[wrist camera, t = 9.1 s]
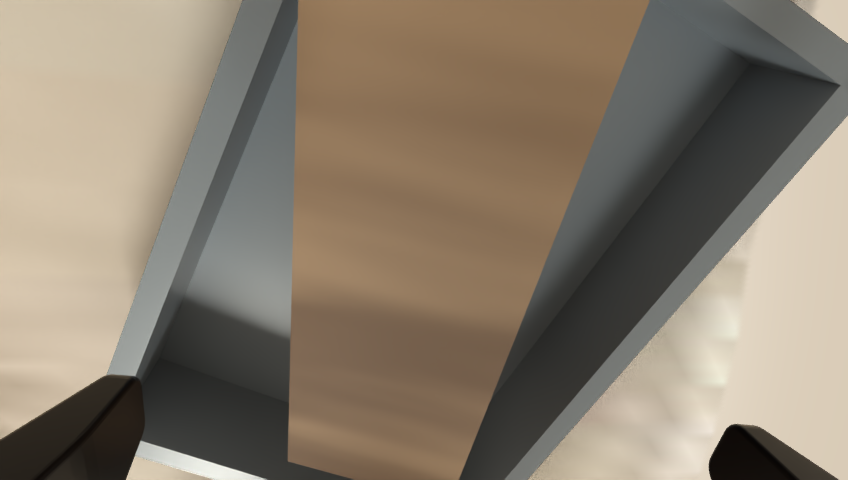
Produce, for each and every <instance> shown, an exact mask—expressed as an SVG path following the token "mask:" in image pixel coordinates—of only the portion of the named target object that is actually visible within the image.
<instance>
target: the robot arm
mask: <svg viewBox="0 0 848 480" xmlns="http://www.w3.org/2000/svg"><path fill="white" fill-rule="evenodd" d="M144 428H145V411H144V402H143V393H142V385H141V381H140V379H139V378H138V377H136V376H129V375H116V374H110V375H106V376H103V377H102V378H100V379H98V380H97V381H95V382H93V383H92V384H90V385H88V386H87V387H85V388H84V389H82V390H80V391H79V392H77V393H75V394H74V395H72V396H71V397H69V398H67V399H66V400H64V401H62V402H61V403H59V404H58V405H56V406H54V407H53V408H51V409H49V410H48V411H46V412H44V413H43V414H41V415H40V416H38V417H36V418H35V419H33V420H31V421H30V422H28V423H27V424H25V425H23V426H22V427H20V428H18V429H17V430H15V431H14V432H12V433H10V434H9V435H7V436H5V437H4V438H2V439H0V480H126V478H127V475H128V472H129V470H130V467H131V465H132V462H133V459H134V457H135V454H136V452H137V449H138V446H139V444H140V441H141V439H142V436H143V432H144ZM709 473H710V477H711V479H712V480H838V479H837V478H835V477H834V476H832V475H831V474H829V473H828V472H826V471H825V470H823V469H822V468H820V467H819V466H817V465H816V464H814V463H813V462H811V461H810V460H809V459H807V458H805V457H804V456H803V455H801V454H799V453H798V452H796V451H795V450H793V449H792V448H791V447H789V446H788V445H786V444H784V443H783V442H782V441H780V440H778V439H777V438H776V437H774V436H772V435H771V434H770V433H768V432H766V431H765V430H764V429H762V428H760V427H758V426H754V425H741V424H733V425H730V426H729V427H728V428H727V429H726V430H725V432H724V434H723V435H722V437H721V439H720V441H719V443H718V445H717V447H716V448H715V450H714V452H713V454H712V456H711V458H710V460H709Z"/></svg>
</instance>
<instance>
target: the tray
mask: <svg viewBox="0 0 848 480" xmlns="http://www.w3.org/2000/svg"><path fill="white" fill-rule="evenodd" d="M297 35H298V0H243V1H242V3H241V6H240V9H239V12H238V14H237V17H236V20H235V23H234V25H233V28H232V31H231V34H230V36H229V39H228V42H227V45H226V47H225V50H224V53H223V56H222V58H221V61H220V64H219V67H218V70H217V72H216V75H215V78H214V81H213V83H212V86H211V89H210V92H209V94H208V97H207V100H206V103H205V105H204V108H203V111H202V114H201V116H200V119H199V122H198V125H197V127H196V130H195V133H194V136H193V138H192V141H191V144H190V147H189V149H188V152H187V155H186V158H185V160H184V163H183V166H182V169H181V171H180V174H179V177H178V180H177V182H176V185H175V188H174V191H173V193H172V196H171V199H170V202H169V204H168V207H167V210H166V213H165V215H164V218H163V221H162V224H161V226H160V229H159V232H158V235H157V237H156V240H155V243H154V246H153V248H152V251H151V254H150V257H149V259H148V262H147V265H146V268H145V270H144V273H143V276H142V279H141V281H140V284H139V287H138V290H137V292H136V295H135V298H134V301H133V303H132V306H131V309H130V312H129V314H128V317H127V320H126V323H125V326H124V328H123V331H122V334H121V337H120V339H119V342H118V345H117V348H116V350H115V353H114V356H113V359H112V361H111V364H110V367H109V370H108V372H107V375H110V374H116V375H129V376H136V377H138V378H139V379H140V381H141V385H142V393H143V402H144V411H145V428H144V432H143V436H142V439H141V441H140V444H139V446H138V449H137V452H136V454H135V456H136V457H140V458H143V459H146V460H150V461H153V462H156V463H160V464H163V465H166V466H170V467H173V468H176V469H180V470H183V471H187V472H190V473H193V474H197V475H200V476H203V477H207V478H210V479H213V480H354V479H350V478H347V477H343V476H339V475H336V474H332V473H328V472H325V471H321V470H317V469H314V468H310V467H306V466H303V465H299V464H295V463H292V462H288V427H289V383H290V340H291V296H292V252H293V209H294V165H295V122H296V78H297ZM847 116H848V43H846V42H845V41H844V40H842V39H841V38H839V37H838V36H837V35H836V34H834V33H833V32H832V31H830V30H829V29H828V28H826V27H825V26H824V25H822V24H821V23H820V22H818V21H817V20H816V19H814V18H813V17H812V16H810V15H809V14H808V13H806V12H805V11H804V10H802V9H801V8H800V7H798V6H797V5H796V4H794V3H793V2H792V1H790V0H650V1H649V4H648V6H647V9H646V11H645V14H644V16H643V19H642V21H641V24H640V26H639V29H638V31H637V34H636V36H635V39H634V41H633V44H632V46H631V49H630V51H629V54H628V56H627V59H626V61H625V64H624V66H623V69H622V71H621V74H620V76H619V79H618V81H617V84H616V86H615V89H614V91H613V94H612V96H611V99H610V101H609V104H608V106H607V109H606V112H605V114H604V117H603V119H602V122H601V124H600V127H599V129H598V132H597V134H596V137H595V139H594V142H593V144H592V147H591V149H590V152H589V154H588V157H587V159H586V162H585V164H584V167H583V169H582V172H581V174H580V177H579V179H578V182H577V184H576V187H575V189H574V192H573V194H572V197H571V199H570V202H569V204H568V207H567V209H566V212H565V214H564V217H563V219H562V222H561V224H560V227H559V230H558V232H557V235H556V237H555V240H554V242H553V245H552V247H551V250H550V252H549V255H548V257H547V260H546V262H545V265H544V267H543V270H542V272H541V275H540V277H539V280H538V282H537V285H536V287H535V290H534V292H533V295H532V297H531V300H530V302H529V305H528V307H527V310H526V312H525V315H524V317H523V320H522V322H521V325H520V327H519V330H518V332H517V335H516V337H515V340H514V342H513V345H512V348H511V350H510V353H509V355H508V358H507V360H506V363H505V365H504V368H503V370H502V373H501V375H500V378H499V380H498V383H497V385H496V388H495V390H494V393H493V395H492V398H491V400H490V403H489V405H488V408H487V410H486V413H485V415H484V418H483V420H482V423H481V425H480V428H479V430H478V433H477V435H476V438H475V440H474V443H473V445H472V448H471V450H470V453H469V455H468V458H467V460H466V463H465V466H464V468H463V471H462V473H461V476H460V478H459V480H528V479H529V477H530V476H531V475H532V474H533V473H534V472H535V471H536V469H537V468H538V467H539V466H540V465H541V464H542V463H543V461H544V460H545V459H546V458H547V457H548V456H549V455H550V453H551V452H552V451H553V450H554V449H555V448H556V447H557V446H558V444H559V443H560V442H561V441H562V440H563V439H564V438H565V436H566V435H567V434H568V433H569V432H570V431H571V430H572V428H573V427H574V426H575V425H576V424H577V423H578V422H579V421H580V419H581V418H582V417H583V416H584V415H585V414H586V413H587V411H588V410H589V409H590V408H591V407H592V406H593V405H594V403H595V402H596V401H597V400H598V399H599V398H600V397H601V395H602V394H603V393H604V392H605V391H606V390H607V389H608V388H609V386H610V385H611V384H612V383H613V382H614V381H615V380H616V378H617V377H618V376H619V375H620V374H621V373H622V372H623V370H624V369H625V368H626V367H627V366H628V365H629V364H630V362H631V361H632V360H633V359H634V358H635V357H636V356H637V355H638V353H639V352H640V351H641V350H642V349H643V348H644V347H645V345H646V344H647V343H648V342H649V341H650V340H651V339H652V337H653V336H654V335H655V334H656V333H657V332H658V331H659V330H660V328H661V327H662V326H663V325H664V324H665V323H666V322H667V320H668V319H669V318H670V317H671V316H672V315H673V314H674V312H675V311H676V310H677V309H678V308H679V307H680V306H681V304H682V303H683V302H684V301H685V300H686V299H687V298H688V297H689V295H690V294H691V293H692V292H693V291H694V290H695V289H696V287H697V286H698V285H699V284H700V283H701V282H702V281H703V279H704V278H705V277H706V276H707V275H708V274H709V273H710V272H711V270H712V269H713V268H714V267H715V266H716V265H717V264H718V262H719V261H720V260H721V259H722V258H723V257H724V256H725V254H726V253H727V252H728V251H729V250H730V249H731V248H732V246H733V245H734V244H735V243H736V242H737V241H738V240H739V239H740V237H741V236H742V235H743V234H744V233H745V232H746V231H747V229H748V228H749V227H750V226H751V225H752V224H753V223H754V221H755V220H756V219H757V218H758V217H759V216H760V215H761V213H762V212H763V211H764V210H765V209H766V208H767V207H768V206H769V204H770V203H771V202H772V201H773V200H774V199H775V197H776V196H777V195H778V194H779V193H780V192H781V191H782V190H783V188H784V187H785V186H786V185H787V184H788V183H789V182H790V181H791V179H792V178H793V177H794V176H795V175H796V174H797V173H798V171H799V170H800V169H801V168H802V167H803V166H804V164H805V163H806V162H807V161H808V160H809V159H810V158H811V157H812V155H813V154H814V153H815V152H816V151H817V150H818V149H819V148H820V146H821V145H822V144H823V143H824V142H825V141H826V140H827V138H828V137H829V136H830V135H831V134H832V133H833V131H834V130H835V129H836V128H837V127H838V126H839V125H840V124H841V123H842V121H843V120H844V119H845V118H846V117H847Z"/></svg>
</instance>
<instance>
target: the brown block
mask: <svg viewBox="0 0 848 480" xmlns="http://www.w3.org/2000/svg"><path fill="white" fill-rule="evenodd" d="M649 1H650V0H298V35H297V78H296V122H295V165H294V209H293V252H292V296H291V340H290V383H289V427H288V462H292V463H295V464H299V465H303V466H306V467H310V468H314V469H317V470H321V471H325V472H328V473H332V474H336V475H339V476H343V477H347V478H350V479H354V480H459V478H460V476H461V473H462V471H463V468H464V466H465V463H466V460H467V458H468V455H469V453H470V450H471V448H472V445H473V443H474V440H475V438H476V435H477V433H478V430H479V428H480V425H481V423H482V420H483V418H484V415H485V413H486V410H487V408H488V405H489V403H490V400H491V398H492V395H493V393H494V390H495V388H496V385H497V383H498V380H499V378H500V375H501V373H502V370H503V368H504V365H505V363H506V360H507V358H508V355H509V353H510V350H511V348H512V345H513V342H514V340H515V337H516V335H517V332H518V330H519V327H520V325H521V322H522V320H523V317H524V315H525V312H526V310H527V307H528V305H529V302H530V300H531V297H532V295H533V292H534V290H535V287H536V285H537V282H538V280H539V277H540V275H541V272H542V270H543V267H544V265H545V262H546V260H547V257H548V255H549V252H550V250H551V247H552V245H553V242H554V240H555V237H556V235H557V232H558V230H559V227H560V224H561V222H562V219H563V217H564V214H565V212H566V209H567V207H568V204H569V202H570V199H571V197H572V194H573V192H574V189H575V187H576V184H577V182H578V179H579V177H580V174H581V172H582V169H583V167H584V164H585V162H586V159H587V157H588V154H589V152H590V149H591V147H592V144H593V142H594V139H595V137H596V134H597V132H598V129H599V127H600V124H601V122H602V119H603V117H604V114H605V112H606V109H607V106H608V104H609V101H610V99H611V96H612V94H613V91H614V89H615V86H616V84H617V81H618V79H619V76H620V74H621V71H622V69H623V66H624V64H625V61H626V59H627V56H628V54H629V51H630V49H631V46H632V44H633V41H634V39H635V36H636V34H637V31H638V29H639V26H640V24H641V21H642V19H643V16H644V14H645V11H646V9H647V6H648V4H649Z"/></svg>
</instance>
